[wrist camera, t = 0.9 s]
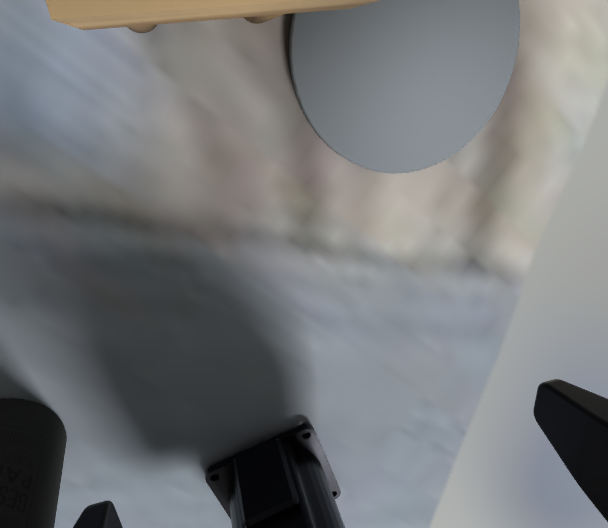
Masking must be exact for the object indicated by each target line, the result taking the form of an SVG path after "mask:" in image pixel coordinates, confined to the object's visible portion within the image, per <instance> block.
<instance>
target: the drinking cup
mask: <svg viewBox="0 0 608 528" xmlns="http://www.w3.org/2000/svg"><path fill="white" fill-rule="evenodd" d="M66 438H67V437H66V431H65V428H64V425H63V423H62V422H61V420H60V419H59V418H58V417H57V416H56V415H55V414H54V413H53V412H52V411H50V410H49V409H47V408H46V407H44V406H42V405H40V404H37V403H34V402H31V401H27V400H21V399H0V528H54V524H55V517H56V510H57V503H58V496H59V489H60V482H61V475H62V468H63V461H64V454H65V447H66Z"/></svg>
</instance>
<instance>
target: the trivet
mask: <svg viewBox="0 0 608 528" xmlns="http://www.w3.org/2000/svg"><path fill="white" fill-rule="evenodd" d="M519 32H520V10H519V2H518V0H380V1H376V2H373V3H369V4H365V5H362V6H358V7H354V8H351V9H341V10H328V11H316V12H303V13H293V16H292V21H291V29H290V38H289V60H290V68H291V76H292V81H293V85H294V89H295V93H296V96H297V98H298V101H299V104H300V106H301V109H302V111H303V113H304V114H305V116H306V118H307V120H308V122H309V124H310V125H311V126H312V128H313V129H314V131H315V132H316V133H317V135H318V136H319V137H320V138H321V139H322V140H323V141H324V142H325V143H326V144H327V146H329V147H330V148H331V149H332V150H334V151H335V152H336V153H337V154H339V155H340V156H342V157H344V158H346V159H347V160H349V161H351V162H352V163H354V164H356V165H359V166H361V167H364V168H366V169H369V170H374V171H378V172H384V173H408V172H413V171H418V170H422V169H425V168H428V167H431V166H433V165H436V164H438V163H440V162H442V161H444V160H446V159H447V158H449V157H450V156H452V155H454V154H455V153H457V152H458V151H459V150H461V149H462V148H463V147H464V146H465V145H467V144H468V143H469V142H470V141H471V140H472V139H473V138H474V137H475V136H476V135H477V134H478V133H479V132H480V131H481V129H482V128H483V127H484V126H485V124H486V123H487V122H488V121H489V119H490V118H491V116H492V114H493V113H494V111H495V110H496V108H497V107H498V105H499V103H500V101H501V99H502V97H503V95H504V93H505V91H506V88H507V86H508V83H509V81H510V78H511V75H512V71H513V68H514V64H515V61H516V55H517V50H518V44H519Z"/></svg>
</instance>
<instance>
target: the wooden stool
mask: <svg viewBox="0 0 608 528" xmlns="http://www.w3.org/2000/svg"><path fill="white" fill-rule="evenodd" d="M376 1H380V0H46V3H47V6H48V10H49V13H50V17H51V20H54V21H57V22H61V23H64V24H67V25H70V26H73V27H76V28H79V29H82V30H90V29H103V28H116V27H128V28H129V29H130V30H132V31H134V32H138V33H147V32H149V31H151V30H153V29H154V28H155V27H156V26H157V24H166V23H178V22H191V21H203V20H216V19H228V18H241V17H244V18H245V19H246V20H247V21H249V22H251V23H263V22H265V21H268V20H270V19H273V18H276V17H278V16H281V15H283V14H291V13H303V12H316V11H328V10H341V9H351V8H354V7H358V6H362V5H365V4H369V3H373V2H376Z"/></svg>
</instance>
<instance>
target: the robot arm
mask: <svg viewBox="0 0 608 528" xmlns="http://www.w3.org/2000/svg"><path fill="white" fill-rule="evenodd" d="M534 416H535V419H536V421H537V423H538V425H539V426H540V428H541V429H542V431H543V432H544V434H545V435H546V437H547V438H548V440H549V441H550V443H551V444H552V445H553V447H554V449H555V450H556V452H557V453H558V455H559V456H560V458H561V459H562V461H563V462H564V464H565V465H566V467H567V469H568V470H569V471H570V473H571V474H572V476H573V477H574V479H575V480H576V482H577V483H578V485H579V486H580V487H581V488H582V490H583V491H584V493H585V494H586V495H587V496H588V498H589V499H590V500H591V501H592V503H593V504H594V505H595V507H596V508H597V509H598V510H599V512H600V513H601V514H602V515H603V517H604V518H605V519H606V520H607V522H608V399H607V398H604V397H602V396H599V395H597V394H594V393H592V392H589V391H587V390H585V389H582V388H579V387H577V386H575V385H572V384H570V383H567V382H565V381H562V380H559V379H554V380H550V381H547V382H543V383H541V384H540V385H539V386H538V390H537V395H536V400H535V406H534ZM306 432H308V433H306ZM304 433H306V434H304ZM214 474H216V475H214ZM205 479H206V482H207V483H208V485H209V487H210V488H211V490H212V491H213V493H214V494H215V496H216V497H217V499H218V500H219V502H220V503H221V505H222V506H223V508H224V510H225V511H226V513H227V514H228V516H229V517H230V519H231V522H232V528H345V526H344V524H343V521H342V518H341V516H340V513H339V510H338V507H337V505H336V502H335V499H336V498H338V497H339V496H340V493H341V491H340V488H339V486H338V484H337V481H336V479H335V477H334V474H333V472H332V470H331V468H330V465H329V463H328V461H327V458H326V456H325V454H324V451H323V449H322V447H321V445H320V442H319V440H318V438H317V435H316V433H315V431H314V428H313V427H312V425H310V424H303V425H300V426H298V427H296V428H294V429H292V430H289V431H287V432H285V433H283V434H281V435H278V436H276V437H274V438H272V439H270V440H267V441H265V442H263V443H261V444H259V445H256V446H254V447H252V448H250V449H248V450H245V451H243V452H241V453H239V454H237V455H234V456H232V457H230V458H228V459H226V460H223V461H221V462H219V463H217V464H214V465H212V466H210V467H209V468H207V470H206V471H205ZM73 528H123V527H122V525H121V522H120V520H119V517H118V515H117V512H116V510H115V507H114V505H113V503H112V502H111V501H103V502H100V503H96V504H92V505H90V506H88V507H86V508H85V510H84V511H83V512H82V514H81V516H80V517H79V519H78V520H77V522H76V524H75V525H74V527H73Z"/></svg>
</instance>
